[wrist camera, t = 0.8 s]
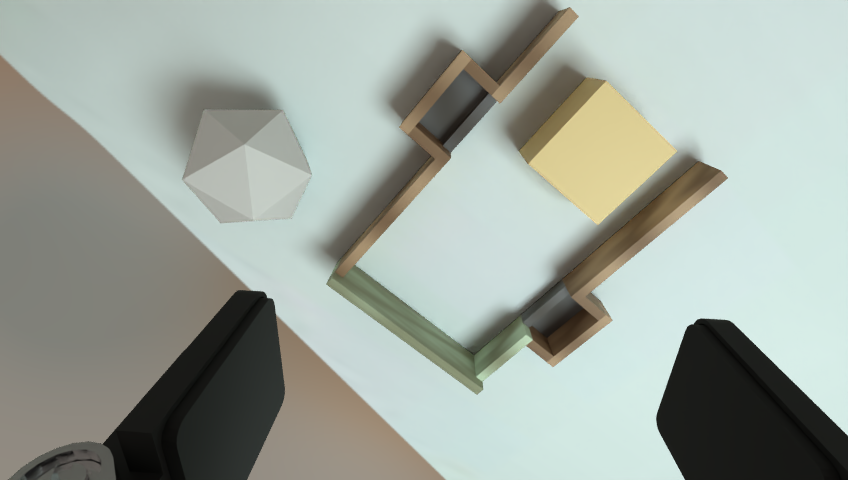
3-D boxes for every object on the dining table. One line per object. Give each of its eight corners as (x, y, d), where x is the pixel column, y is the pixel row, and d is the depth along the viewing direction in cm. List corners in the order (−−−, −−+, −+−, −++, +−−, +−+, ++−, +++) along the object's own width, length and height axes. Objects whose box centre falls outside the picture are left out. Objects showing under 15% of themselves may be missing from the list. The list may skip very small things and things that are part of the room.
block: (585, 77, 32) (606, 80, 28) (648, 139, 33) (677, 151, 29) (518, 150, 34) (528, 163, 30) (580, 205, 36) (597, 225, 32)
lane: (524, -26, 29) (535, -37, 26) (731, 195, 35) (765, 212, 31) (306, 238, 38) (291, 258, 34) (499, 383, 43) (504, 414, 39)
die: (202, 164, 36) (198, 261, 31) (177, 73, 29) (166, 178, 24) (303, 161, 39) (315, 250, 34) (302, 77, 32) (316, 173, 27)
